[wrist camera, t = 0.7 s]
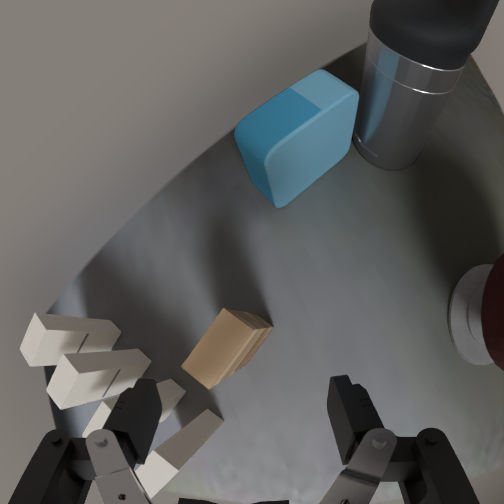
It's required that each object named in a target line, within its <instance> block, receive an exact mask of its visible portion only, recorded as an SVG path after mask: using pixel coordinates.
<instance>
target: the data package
mask: <svg viewBox="0 0 504 504" xmlns="http://www.w3.org/2000/svg"><path fill="white" fill-rule="evenodd" d="M358 101H359V93H358V92H357V91H356V90H355V89H353V88H352V87H350V86H349V85H347V84H346V83H344V82H343V81H341V80H340V79H338V78H336V77H335V76H333V75H332V74H330V73H328V72H327V71H325V70H322V69H320V70H316V71H314V72H313V73H311V74H309V75H308V76H306V77H304V78H303V79H301V80H300V81H298V82H296V83H295V84H293V85H292V86H290V87H288V88H287V89H285V90H284V91H282V92H281V93H279V94H278V95H276V96H275V97H273V98H272V99H270V100H269V101H267V102H266V103H264V104H263V105H261V106H260V107H258V108H257V109H255V110H254V111H253V112H251V113H250V114H249V115H247V116H246V117H244V118H243V119H242V120H241V121H240V122H239V124H238V125H237V127H236V129H235V133H234V138H235V140H236V143H237V146H238V148H239V151H240V153H241V156H242V158H243V161H244V163H245V166H246V169H247V171H248V174H249V176H250V179H251V182H252V183H253V184H254V185H255V186H256V187H257V188H258V189H259V190H260V191H261V192H262V193H263V194H264V195H265V196H266V197H267V198H268V200H269V201H270V202H271V203H272V204H273V205H274V206H275V207H277V208H281V207H284V206H285V205H287V204H288V203H289V202H291V201H292V200H293V199H294V198H295V197H296V196H298V195H299V194H300V193H301V192H302V191H304V190H305V189H306V188H307V187H308V186H310V185H311V184H312V183H313V182H314V181H316V180H317V179H318V178H319V177H320V176H322V175H323V174H324V173H325V172H326V171H328V170H329V169H330V168H331V167H332V166H334V165H335V164H336V163H337V162H338V161H340V160H341V159H342V158H343V157H344V156H345V155H346V153H347V152H348V150H349V148H350V143H351V138H352V133H353V128H354V123H355V118H356V112H357V107H358Z"/></svg>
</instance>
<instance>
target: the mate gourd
mask: <svg viewBox="0 0 504 504" xmlns="http://www.w3.org/2000/svg"><path fill="white" fill-rule="evenodd" d="M448 324H449V332H450V336H451V339H452V343H453V345H454V347H455V349H456V351H457V352H458V353H459V354H460V356H461V357H462V358H464V359H465V360H466V361H467V362H470V363H473V364H476V365H487V364H491V363H493V362H494V363H495V364H496V365H497V366H498V367H500V368H501V369H502V370H503V371H504V253H503V254H502V255H501V257H500V258H499V259H498V260H497V261H496V262H495V264H494V265H492V264H482V265H479V266H476V267H474V268H472V269H470V270H469V271H467V272H466V273H465V274H464V275H463V276H462V277H461V279H460V280H459V282H458V283H457V285H456V287H455V289H454V291H453V294H452V298H451V301H450V306H449V313H448Z"/></svg>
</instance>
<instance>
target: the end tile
mask: <svg viewBox="0 0 504 504" xmlns="http://www.w3.org/2000/svg"><path fill="white" fill-rule="evenodd" d="M121 333H122V332H121V331H120V330H119V329H118V328H117V327H116V325H115V324H114V323H113V322H112V321H111V320H104V319H91V318H80V317H70V316H61V315H52V314H43V313H36V312H35V314H34V316H33V318H32V320H31V323H30V325H29V327H28V330H27V332H26V335H25V337H24V340H23V342H22V344H21V347H20V351H21V352H22V354H23V356H24V357H25V359H26V361H27V362H28V364H29V365H30V366H47V365H58V363H59V361H60V359H61V357H62V355H63V354H68V353H87V352H102V351H111V349H112V347H113V346H114V344H115V342H116V341H117V339H118V337H119V336H120V334H121Z"/></svg>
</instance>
